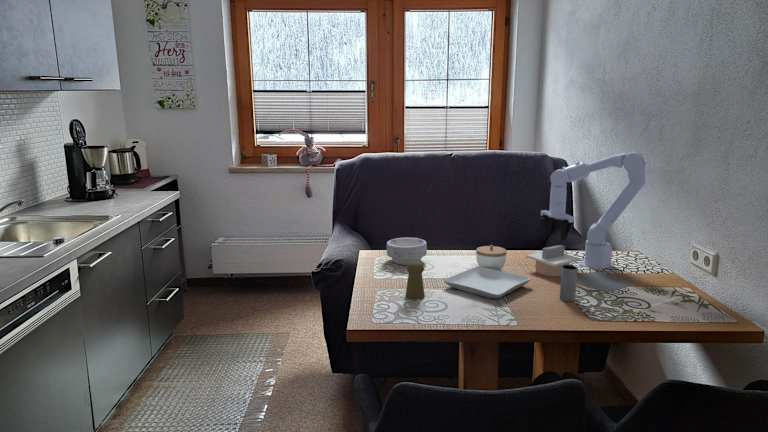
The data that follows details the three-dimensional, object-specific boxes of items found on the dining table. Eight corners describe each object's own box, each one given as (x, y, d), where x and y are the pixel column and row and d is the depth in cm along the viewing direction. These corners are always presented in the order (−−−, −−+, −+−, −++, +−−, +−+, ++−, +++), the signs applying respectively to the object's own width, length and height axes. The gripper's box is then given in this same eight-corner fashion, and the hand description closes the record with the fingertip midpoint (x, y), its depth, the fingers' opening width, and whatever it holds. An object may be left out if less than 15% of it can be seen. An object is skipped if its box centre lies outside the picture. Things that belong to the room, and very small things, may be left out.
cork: (426, 294, 171) (427, 260, 169) (421, 300, 166) (422, 266, 163) (408, 292, 173) (408, 259, 171) (402, 298, 168) (403, 264, 165)
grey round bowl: (384, 256, 212) (384, 237, 211) (422, 255, 214) (422, 236, 212) (389, 268, 198) (389, 247, 196) (430, 267, 199) (430, 246, 198)
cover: (551, 252, 200) (552, 240, 199) (580, 260, 189) (581, 248, 188) (526, 257, 194) (526, 245, 193) (554, 266, 183) (555, 254, 182)
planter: (567, 302, 164) (569, 270, 162) (556, 297, 168) (558, 266, 166) (578, 300, 166) (580, 267, 164) (567, 295, 170) (569, 264, 168)
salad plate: (441, 289, 177) (441, 279, 176) (477, 274, 192) (477, 264, 192) (498, 305, 163) (498, 294, 162) (532, 287, 178) (532, 277, 178)
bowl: (550, 266, 200) (551, 253, 199) (575, 274, 191) (576, 260, 189) (528, 270, 194) (529, 257, 193) (552, 279, 185) (553, 265, 184)
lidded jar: (503, 266, 200) (505, 241, 198) (507, 275, 189) (508, 249, 187) (474, 265, 201) (475, 241, 199) (476, 274, 190) (477, 249, 188)
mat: (596, 272, 193) (596, 271, 193) (637, 285, 179) (637, 283, 179) (565, 279, 185) (565, 278, 185) (605, 293, 171) (605, 292, 171)
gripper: (535, 199, 205) (533, 234, 208) (565, 206, 193) (563, 243, 195) (548, 198, 208) (546, 232, 211) (579, 204, 196) (576, 240, 199)
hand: (555, 237), depth 204 cm, fingers open, 7 cm apart
